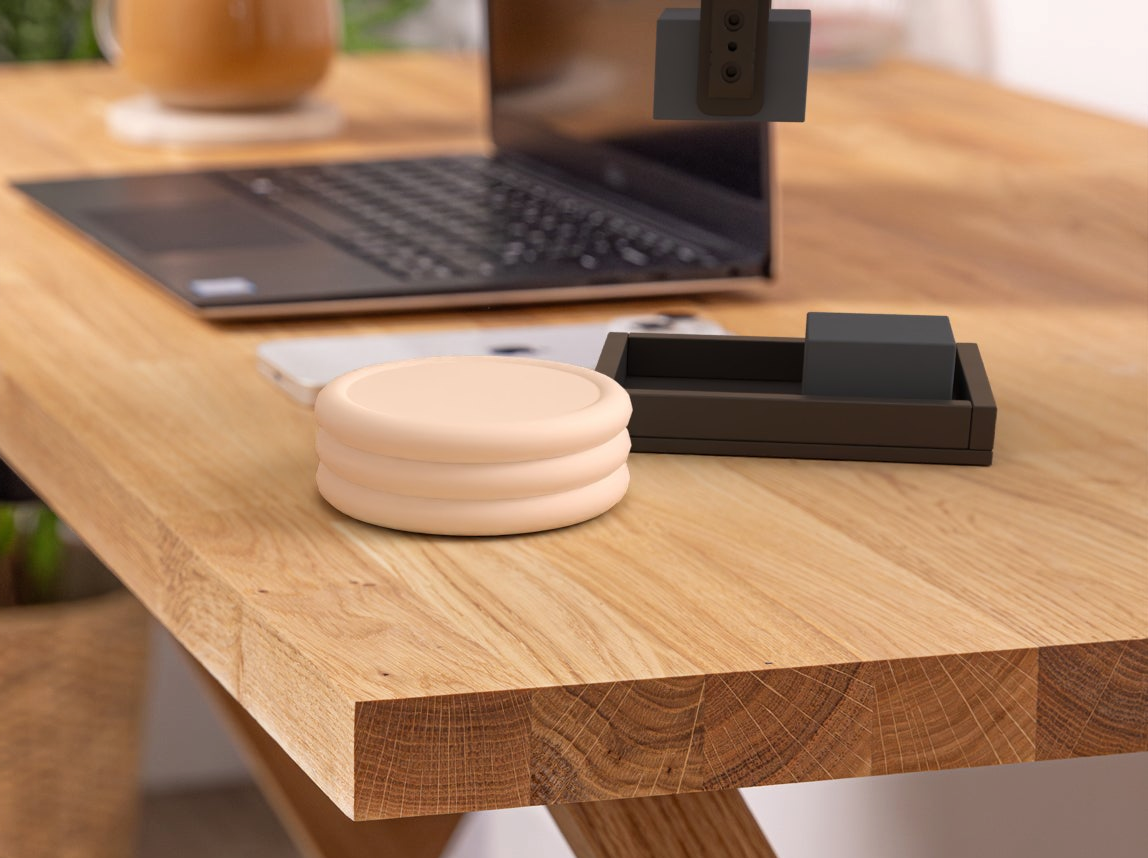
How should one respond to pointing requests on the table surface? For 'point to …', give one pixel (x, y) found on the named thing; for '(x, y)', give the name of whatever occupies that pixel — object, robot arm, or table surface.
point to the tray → (786, 404)
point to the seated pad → (878, 356)
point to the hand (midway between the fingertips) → (732, 102)
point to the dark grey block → (681, 67)
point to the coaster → (473, 444)
